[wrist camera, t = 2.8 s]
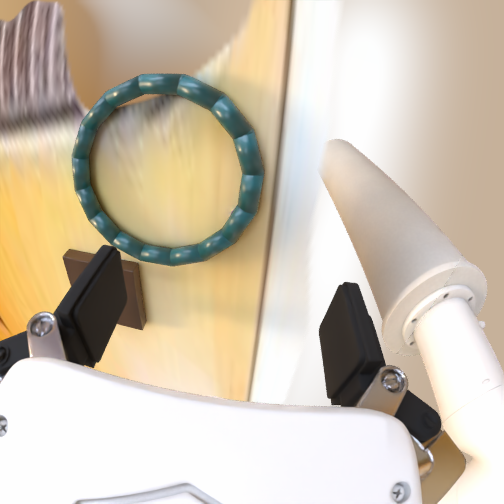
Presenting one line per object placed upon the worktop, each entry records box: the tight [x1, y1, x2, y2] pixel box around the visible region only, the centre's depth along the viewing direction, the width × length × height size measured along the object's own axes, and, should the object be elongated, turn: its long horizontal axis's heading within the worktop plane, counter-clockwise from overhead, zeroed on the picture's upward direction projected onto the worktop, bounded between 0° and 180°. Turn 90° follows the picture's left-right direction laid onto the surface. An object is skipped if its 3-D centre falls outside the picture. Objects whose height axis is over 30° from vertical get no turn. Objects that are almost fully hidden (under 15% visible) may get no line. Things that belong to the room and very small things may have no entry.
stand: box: [63, 249, 146, 330], centre depth 26 cm, size 9×9×8 cm
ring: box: [72, 74, 264, 266], centre depth 21 cm, size 17×17×2 cm
